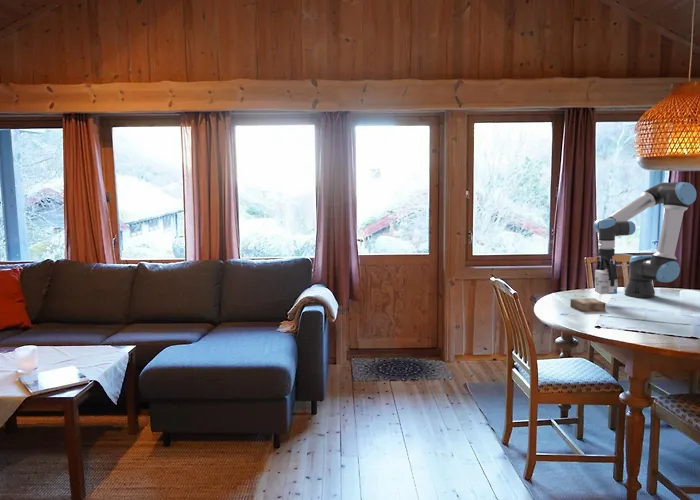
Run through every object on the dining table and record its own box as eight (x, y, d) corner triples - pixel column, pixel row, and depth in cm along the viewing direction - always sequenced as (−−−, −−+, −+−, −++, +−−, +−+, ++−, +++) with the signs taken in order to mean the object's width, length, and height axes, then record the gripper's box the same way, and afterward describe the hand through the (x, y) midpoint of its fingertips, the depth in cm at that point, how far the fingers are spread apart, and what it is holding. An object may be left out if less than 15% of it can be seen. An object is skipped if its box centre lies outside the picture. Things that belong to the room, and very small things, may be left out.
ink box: (610, 290, 277) (611, 269, 275) (617, 294, 268) (617, 271, 267) (594, 290, 277) (594, 269, 276) (600, 294, 269) (600, 272, 268)
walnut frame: (592, 305, 272) (592, 297, 271) (605, 311, 260) (605, 302, 259) (570, 306, 271) (570, 298, 270) (582, 311, 259) (582, 303, 258)
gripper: (588, 246, 280) (587, 286, 283) (611, 251, 259) (610, 295, 262) (601, 245, 281) (601, 286, 284) (626, 250, 259) (625, 294, 262)
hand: (605, 290), depth 273 cm, fingers closed on ink box, 9 cm apart
